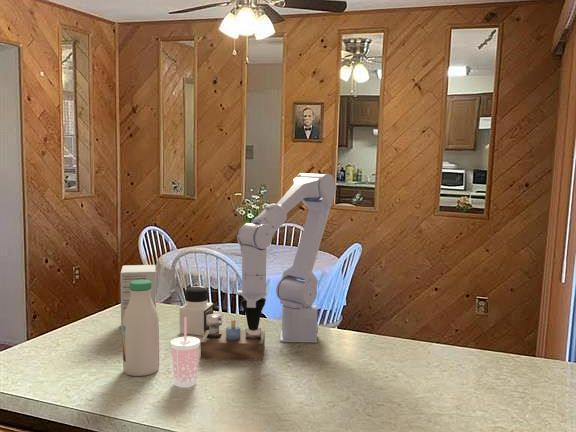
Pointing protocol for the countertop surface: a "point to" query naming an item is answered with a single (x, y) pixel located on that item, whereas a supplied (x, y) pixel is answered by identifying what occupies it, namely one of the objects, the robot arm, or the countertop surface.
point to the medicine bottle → (195, 310)
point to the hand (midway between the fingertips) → (253, 328)
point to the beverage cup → (185, 359)
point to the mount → (232, 347)
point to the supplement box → (132, 274)
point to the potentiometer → (233, 331)
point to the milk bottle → (140, 331)
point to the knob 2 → (253, 333)
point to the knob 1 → (214, 325)
